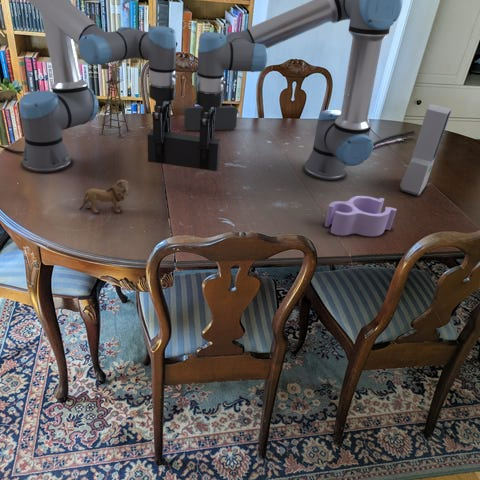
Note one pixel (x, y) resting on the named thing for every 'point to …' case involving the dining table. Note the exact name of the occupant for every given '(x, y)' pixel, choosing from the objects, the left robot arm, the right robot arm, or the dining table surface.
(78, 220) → the dining table surface
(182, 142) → the bar
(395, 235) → the dining table surface
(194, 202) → the dining table surface
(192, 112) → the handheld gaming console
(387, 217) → the clip
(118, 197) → the lion figurine
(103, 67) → the miniature windmill
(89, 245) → the dining table surface
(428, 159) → the electronic device
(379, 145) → the sword
